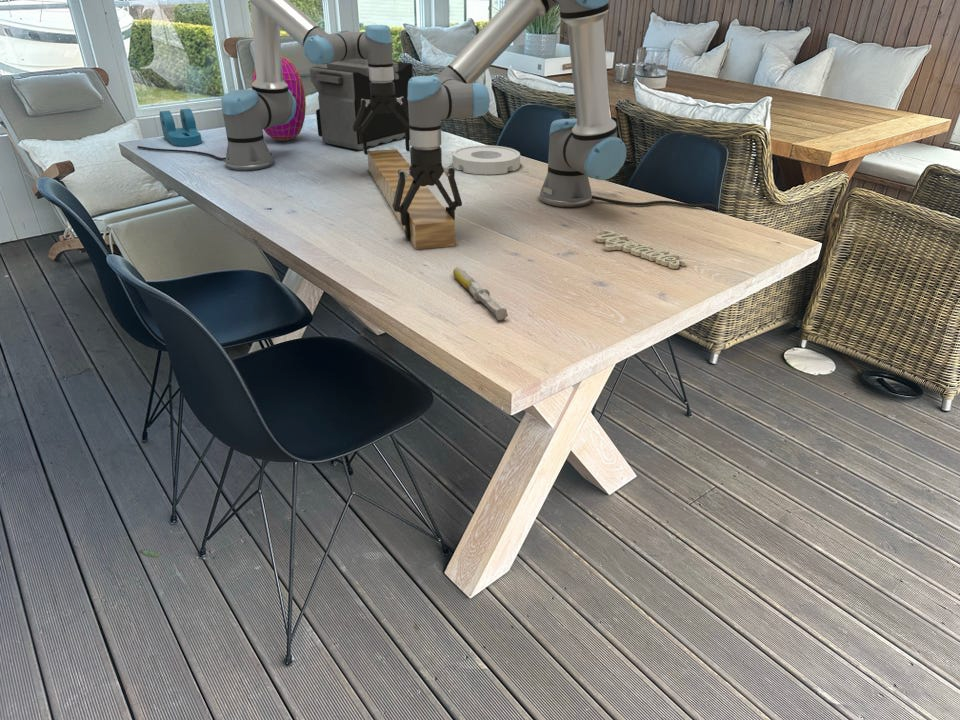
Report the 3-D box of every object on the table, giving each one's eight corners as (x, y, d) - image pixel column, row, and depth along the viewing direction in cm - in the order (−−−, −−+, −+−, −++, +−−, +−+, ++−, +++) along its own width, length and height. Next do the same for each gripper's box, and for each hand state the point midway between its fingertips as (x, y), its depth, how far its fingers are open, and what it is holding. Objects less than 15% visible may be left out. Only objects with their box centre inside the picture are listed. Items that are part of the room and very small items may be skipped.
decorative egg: (293, 132, 276) (283, 50, 261) (319, 140, 264) (310, 56, 249) (249, 139, 265) (236, 54, 250) (273, 148, 253) (261, 60, 238)
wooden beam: (455, 245, 170) (454, 221, 167) (416, 249, 168) (415, 224, 165) (397, 168, 232) (396, 149, 228) (368, 170, 229) (367, 151, 226)
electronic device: (379, 127, 286) (374, 48, 270) (420, 134, 275) (417, 53, 259) (313, 143, 260) (303, 57, 245) (355, 152, 249) (347, 63, 234)
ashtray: (454, 156, 246) (454, 144, 244) (519, 157, 245) (519, 146, 243) (450, 173, 226) (450, 161, 224) (520, 175, 225) (521, 162, 223)
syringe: (449, 274, 155) (449, 263, 153) (465, 272, 156) (464, 260, 154) (490, 323, 135) (491, 310, 133) (508, 319, 136) (508, 307, 134)
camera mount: (164, 137, 265) (157, 109, 260) (192, 134, 270) (186, 106, 265) (176, 147, 253) (170, 117, 247) (205, 143, 258) (200, 114, 252)
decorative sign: (581, 237, 173) (606, 228, 179) (581, 241, 174) (606, 232, 179) (668, 269, 156) (693, 258, 162) (668, 273, 157) (693, 262, 162)
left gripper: (419, 77, 215) (422, 146, 226) (339, 81, 209) (346, 152, 220) (424, 81, 209) (427, 151, 220) (342, 85, 203) (349, 157, 214)
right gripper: (466, 140, 170) (466, 226, 181) (376, 145, 164) (382, 234, 176) (475, 147, 164) (474, 236, 175) (381, 153, 158) (387, 244, 169)
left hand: (387, 152), depth 220 cm, fingers open, 13 cm apart
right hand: (428, 235), depth 175 cm, fingers closed on wooden beam, 10 cm apart
